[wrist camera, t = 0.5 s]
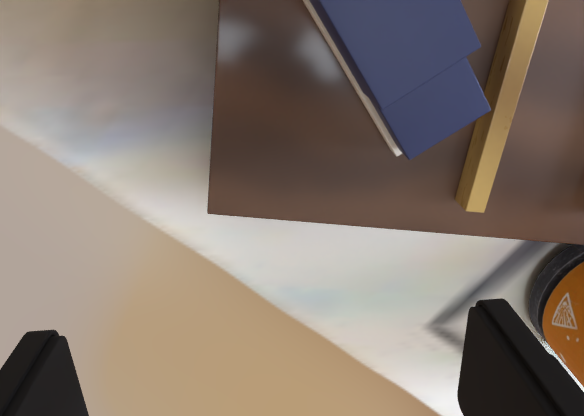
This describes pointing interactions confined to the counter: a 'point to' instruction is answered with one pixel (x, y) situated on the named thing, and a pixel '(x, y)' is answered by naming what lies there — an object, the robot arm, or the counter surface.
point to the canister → (562, 307)
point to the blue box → (406, 65)
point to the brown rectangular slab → (373, 148)
